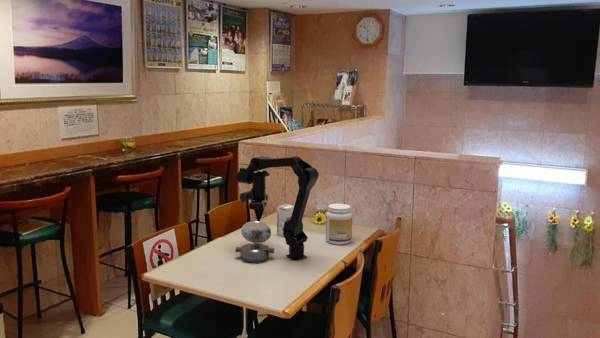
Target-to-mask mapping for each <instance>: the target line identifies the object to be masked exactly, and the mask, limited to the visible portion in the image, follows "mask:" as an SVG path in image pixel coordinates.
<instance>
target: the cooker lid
mask: <svg viewBox="0 0 600 338" xmlns="http://www.w3.org/2000/svg"><path fill="white" fill-rule="evenodd" d="M240 231H241V235H242V237H243V239H245V240H246V241H248V242H250V243H260V244H263V243H265V242H267V241H268V240H269V239H271V236H272V229H271V228H270V226H269V225H268V224H266V223H265V222H263V221H261V220H260V221H257V220H250V221H248V222H245V223H244V224H243V225H242V227H241V230H240Z"/></svg>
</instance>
